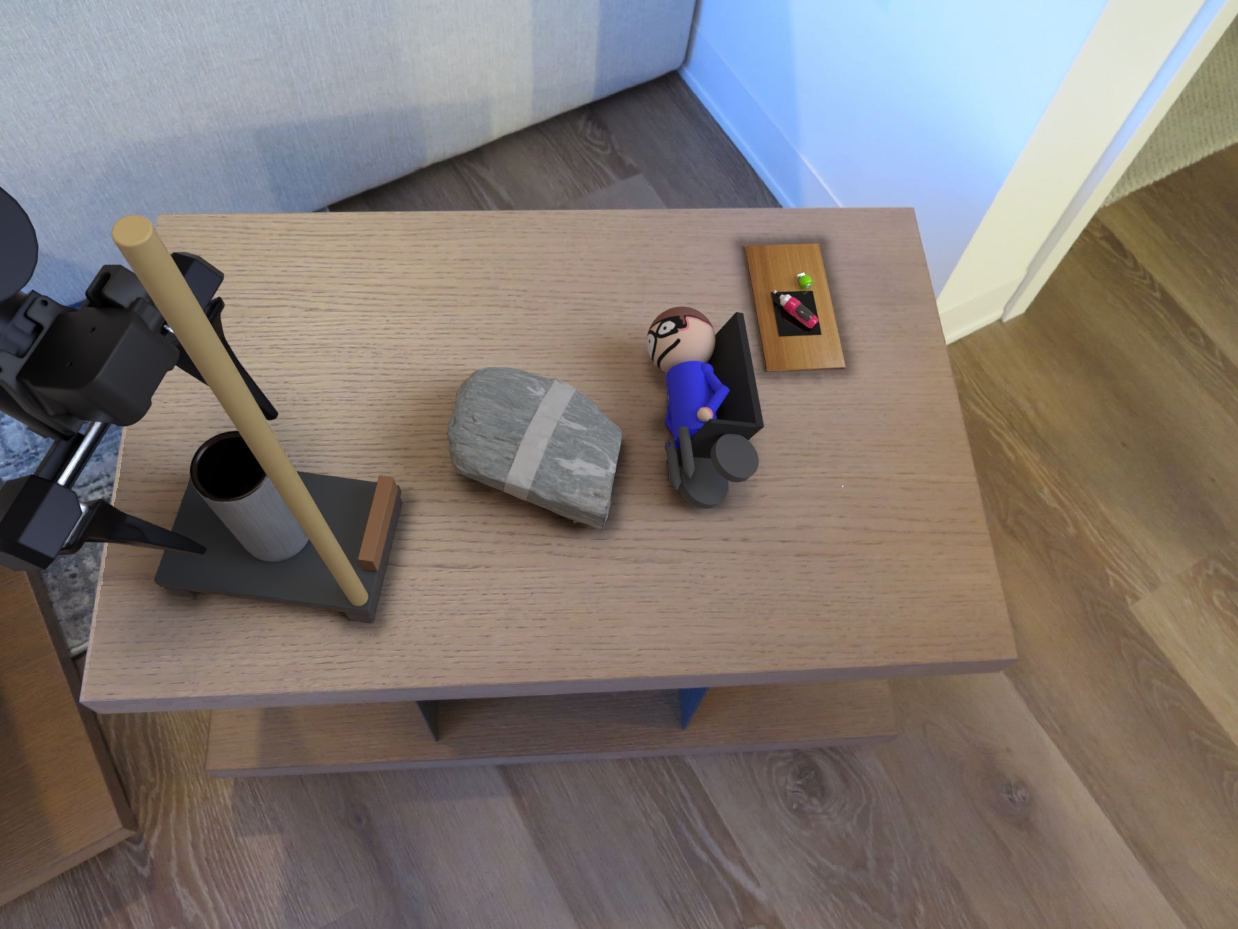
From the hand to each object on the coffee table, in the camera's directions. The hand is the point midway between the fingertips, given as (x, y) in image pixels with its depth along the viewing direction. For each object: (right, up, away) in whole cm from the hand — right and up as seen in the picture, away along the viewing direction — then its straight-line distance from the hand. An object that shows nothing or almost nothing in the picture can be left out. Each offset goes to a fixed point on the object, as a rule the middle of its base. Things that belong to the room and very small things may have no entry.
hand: (239, 482), depth 57 cm
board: (+37, +14, +21) cm, 44 cm away
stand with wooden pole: (0, -5, +10) cm, 11 cm away
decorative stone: (+17, +1, +14) cm, 22 cm away
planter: (0, -3, +7) cm, 8 cm away
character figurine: (+28, +4, +16) cm, 33 cm away
